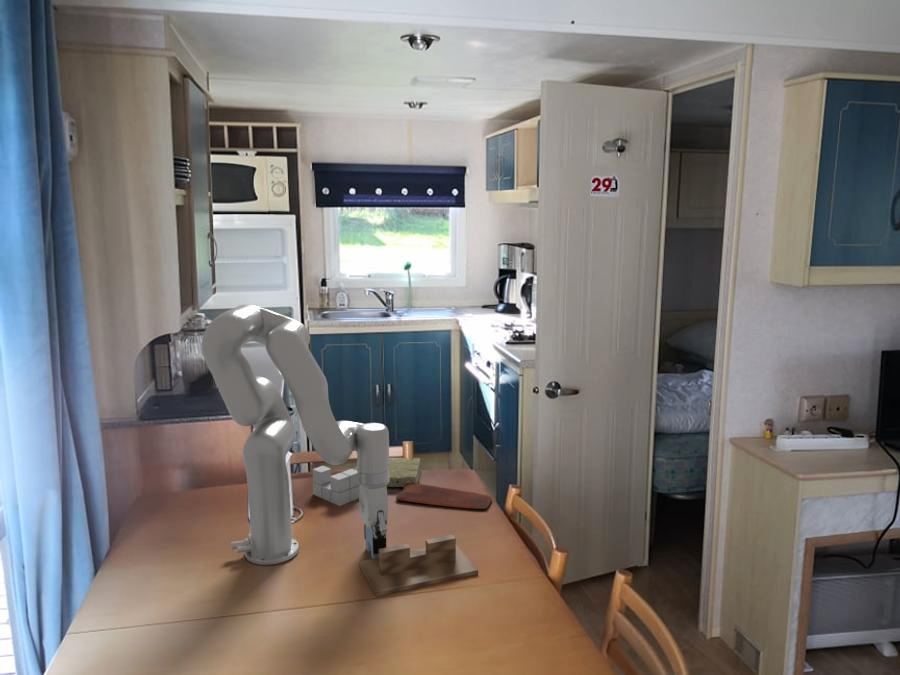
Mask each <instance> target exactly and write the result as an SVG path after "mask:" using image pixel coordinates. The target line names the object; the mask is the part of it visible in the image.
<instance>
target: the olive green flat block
mask: <svg viewBox="0 0 900 675" xmlns="http://www.w3.org/2000/svg"><path fill="white" fill-rule="evenodd" d="M405 458H406V457H389V471H390V482H389V483H388V484H387V485H386V486H387V488H400V487H401V488H404V487H405V485H406V484H409V483H412V484H419V479H420V475H421V470H422V469H421V468H422V462H421V461H422V460H421V457H410V458H411V459H409V460H408V459H405ZM412 458H413V460H412ZM354 470H356V471H357V465H356V466H355V469H354Z"/></svg>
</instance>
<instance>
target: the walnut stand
mask: <svg viewBox="0 0 900 675" xmlns="http://www.w3.org/2000/svg"><path fill="white" fill-rule="evenodd" d="M359 568H361V571H362V572H363V574H364V576H365V578H366V580H367V582H368V583H369V585H370V587H371V589H372V591H373V593H374V595H375V596H376V597H380V596H385V595H389V594H394V593H398V592H403V591H407V590H411V589H417V588H421V587H426V586H431V585H434V584H435V585H436V584H439V583H444V582H449V581H453V580H457V579H462V578H466V577H471V576H475V575H478V574H479V569H478V568H477V567H476V565H475V564H474V563H473V562H472V561H471V560H470V559H469V557H468V556H467V555H466V554H465V552H463V550H461V548H460V547H459V546H458V545H457V539H456V537H455V536H454V535H453V534H449V535H443V536H439V537H438V536H437V537H433V538H428V539H425V548H420V549H415V550H411V546H410V545H409V544H408V543H402V544H398V545H397V544H396V545H392V546H386V548H381V549H379V558H374V559H372V558H369V559H365V560H364V559H363V560H361V561H359Z"/></svg>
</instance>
